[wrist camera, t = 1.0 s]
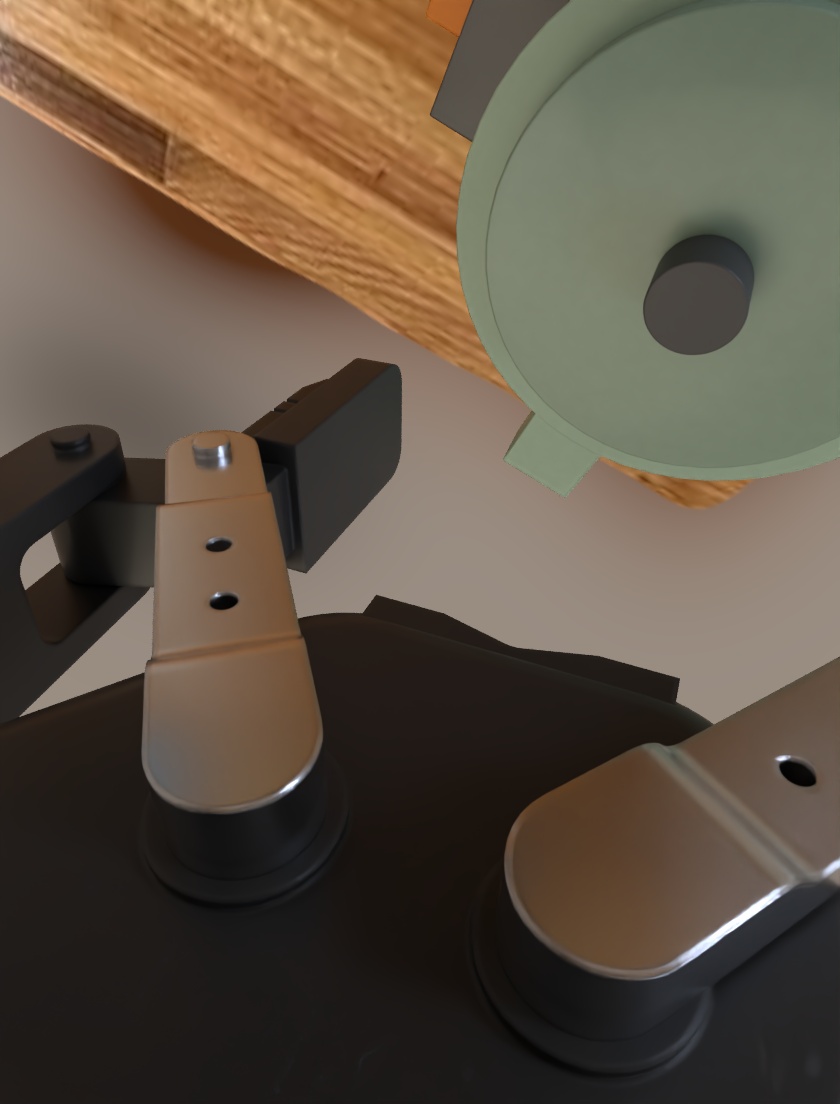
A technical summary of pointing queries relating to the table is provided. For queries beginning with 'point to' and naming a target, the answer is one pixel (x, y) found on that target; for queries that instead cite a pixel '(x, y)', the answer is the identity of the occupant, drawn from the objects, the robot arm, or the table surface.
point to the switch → (449, 13)
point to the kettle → (654, 229)
